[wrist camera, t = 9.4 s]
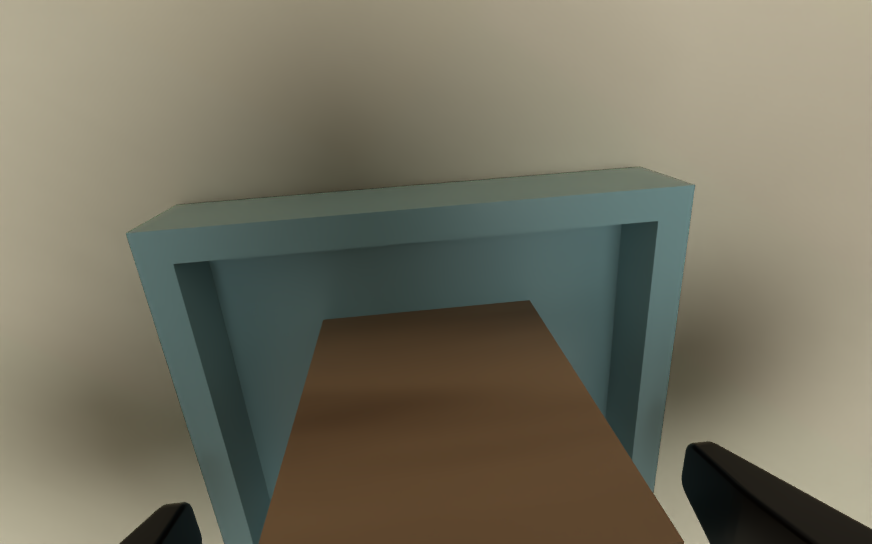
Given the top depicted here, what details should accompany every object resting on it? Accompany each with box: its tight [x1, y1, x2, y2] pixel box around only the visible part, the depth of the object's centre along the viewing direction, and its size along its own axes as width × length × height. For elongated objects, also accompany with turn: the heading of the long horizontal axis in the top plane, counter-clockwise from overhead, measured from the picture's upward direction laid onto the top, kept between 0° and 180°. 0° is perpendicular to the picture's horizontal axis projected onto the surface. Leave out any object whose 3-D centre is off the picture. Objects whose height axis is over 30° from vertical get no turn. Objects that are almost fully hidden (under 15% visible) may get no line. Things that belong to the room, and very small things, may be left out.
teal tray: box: [126, 167, 695, 544], centre depth 11 cm, size 10×10×2 cm
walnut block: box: [259, 300, 684, 544], centre depth 8 cm, size 4×4×6 cm
